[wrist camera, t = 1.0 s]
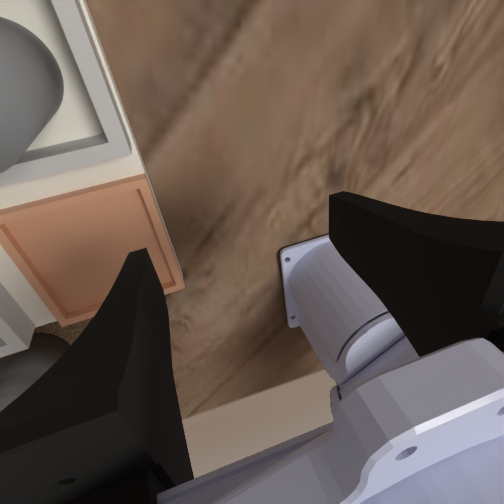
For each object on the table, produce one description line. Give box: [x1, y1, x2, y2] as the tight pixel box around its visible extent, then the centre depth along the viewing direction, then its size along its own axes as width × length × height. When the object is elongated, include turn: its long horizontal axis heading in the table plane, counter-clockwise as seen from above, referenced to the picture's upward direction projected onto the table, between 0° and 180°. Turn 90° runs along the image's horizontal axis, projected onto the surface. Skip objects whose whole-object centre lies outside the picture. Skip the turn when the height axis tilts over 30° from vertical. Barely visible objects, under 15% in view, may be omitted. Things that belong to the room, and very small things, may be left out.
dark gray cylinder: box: [0, 333, 70, 412], centre depth 23 cm, size 4×4×7 cm
